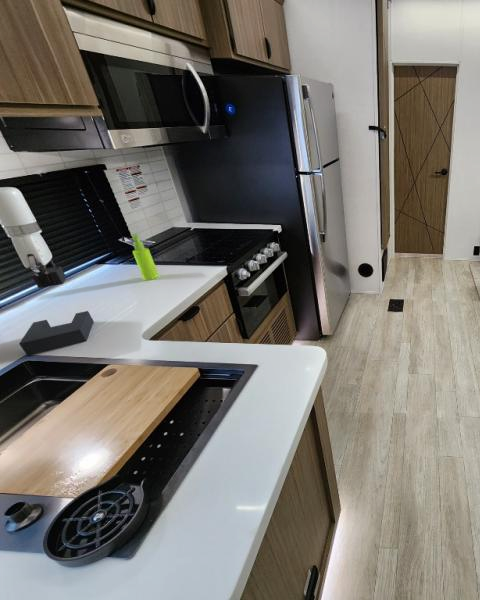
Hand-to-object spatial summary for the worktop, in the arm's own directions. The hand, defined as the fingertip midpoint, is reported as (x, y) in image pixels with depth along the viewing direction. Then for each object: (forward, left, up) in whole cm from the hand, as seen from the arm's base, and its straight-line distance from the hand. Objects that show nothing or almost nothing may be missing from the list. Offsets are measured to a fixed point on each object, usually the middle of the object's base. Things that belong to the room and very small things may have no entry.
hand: (52, 281), depth 111 cm
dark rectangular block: (-1, -13, -15) cm, 20 cm away
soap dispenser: (+22, +29, -15) cm, 40 cm away
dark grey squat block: (0, 0, -1) cm, 1 cm away
